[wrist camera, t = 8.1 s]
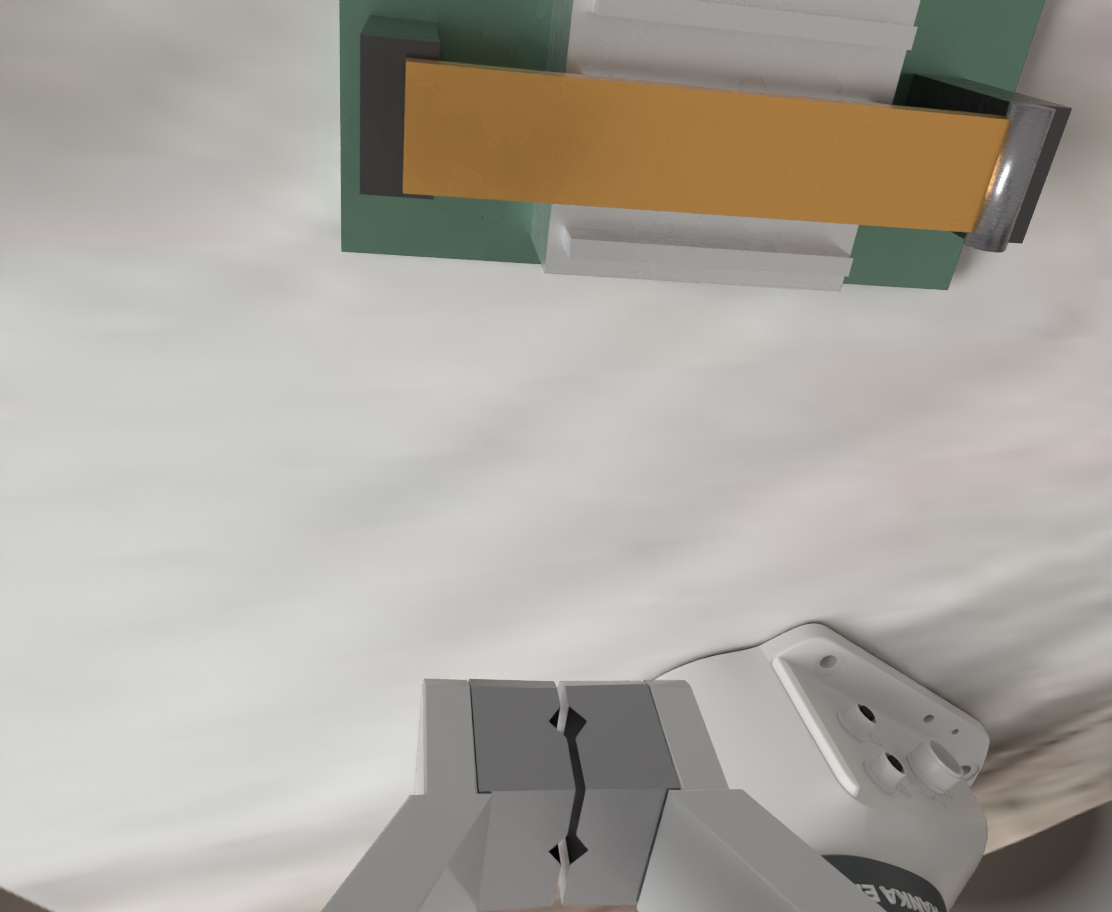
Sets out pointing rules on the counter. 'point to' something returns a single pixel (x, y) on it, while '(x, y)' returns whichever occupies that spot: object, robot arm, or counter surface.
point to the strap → (715, 150)
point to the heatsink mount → (690, 59)
